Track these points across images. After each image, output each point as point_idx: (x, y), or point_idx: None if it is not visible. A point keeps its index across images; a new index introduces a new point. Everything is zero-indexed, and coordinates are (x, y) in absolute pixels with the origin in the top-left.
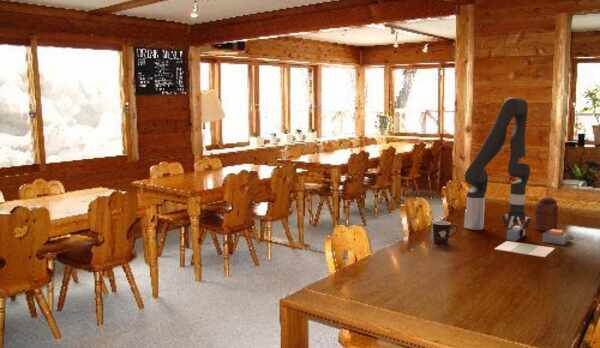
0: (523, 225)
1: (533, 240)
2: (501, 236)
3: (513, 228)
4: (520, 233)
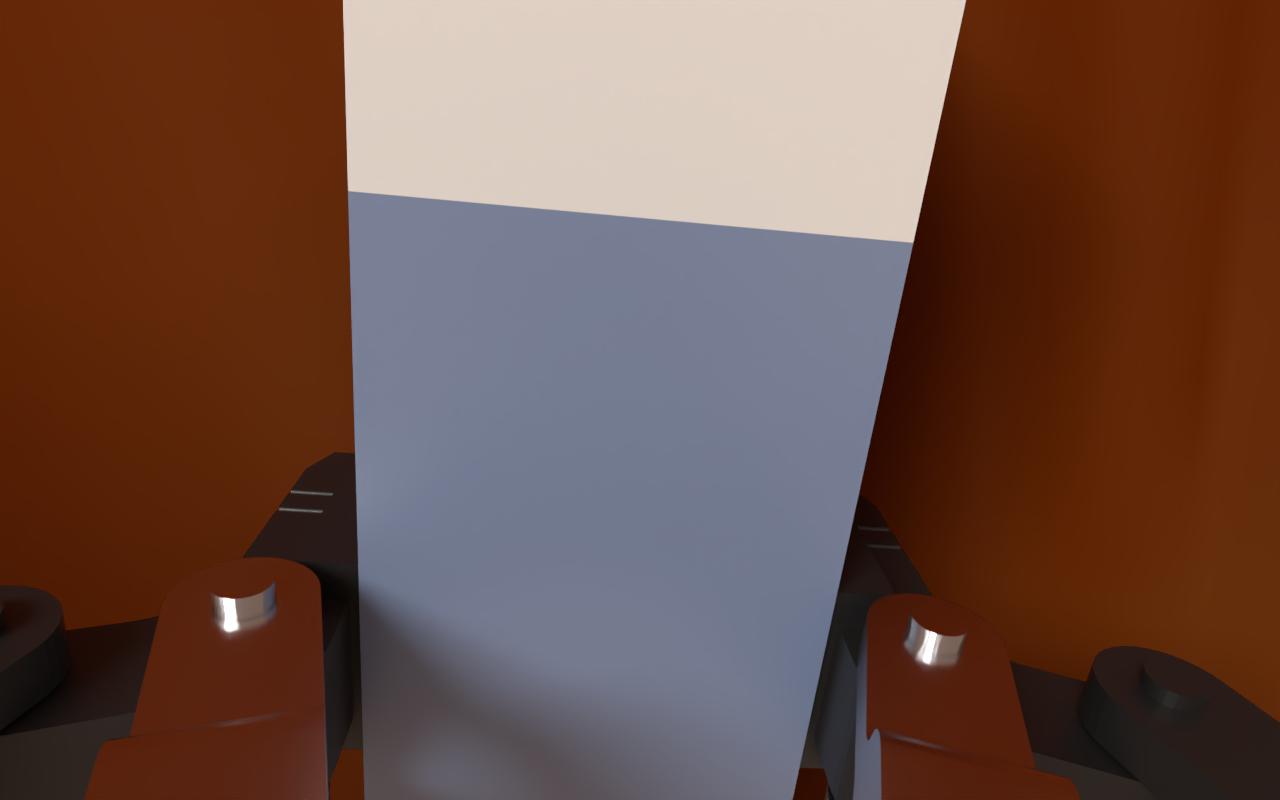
0: (1027, 741)
1: (1138, 545)
2: (160, 560)
3: (465, 671)
4: None
